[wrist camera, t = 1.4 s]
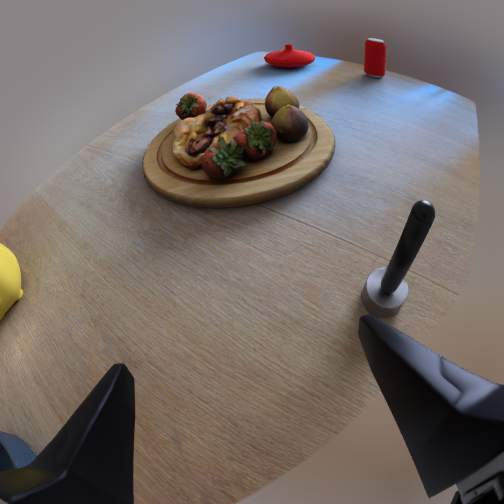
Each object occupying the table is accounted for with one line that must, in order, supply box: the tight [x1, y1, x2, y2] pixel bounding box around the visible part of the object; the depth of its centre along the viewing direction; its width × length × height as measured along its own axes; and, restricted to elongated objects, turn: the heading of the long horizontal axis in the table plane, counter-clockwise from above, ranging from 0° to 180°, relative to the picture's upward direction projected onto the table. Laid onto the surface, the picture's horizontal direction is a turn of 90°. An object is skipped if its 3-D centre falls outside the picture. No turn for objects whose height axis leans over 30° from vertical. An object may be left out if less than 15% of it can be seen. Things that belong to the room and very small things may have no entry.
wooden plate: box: [143, 86, 335, 208], centre depth 42 cm, size 32×32×8 cm
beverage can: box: [364, 38, 386, 78], centre depth 61 cm, size 6×6×12 cm
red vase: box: [264, 45, 315, 68], centre depth 71 cm, size 16×16×7 cm
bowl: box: [0, 431, 36, 471], centre depth 13 cm, size 12×13×5 cm
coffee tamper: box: [362, 200, 435, 318], centre depth 21 cm, size 4×4×13 cm
